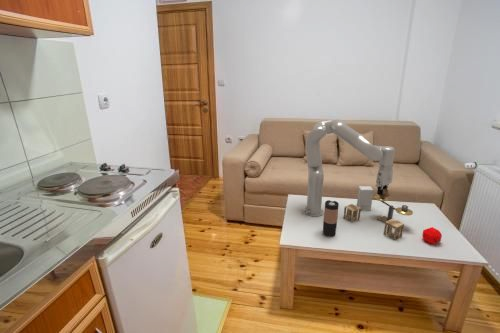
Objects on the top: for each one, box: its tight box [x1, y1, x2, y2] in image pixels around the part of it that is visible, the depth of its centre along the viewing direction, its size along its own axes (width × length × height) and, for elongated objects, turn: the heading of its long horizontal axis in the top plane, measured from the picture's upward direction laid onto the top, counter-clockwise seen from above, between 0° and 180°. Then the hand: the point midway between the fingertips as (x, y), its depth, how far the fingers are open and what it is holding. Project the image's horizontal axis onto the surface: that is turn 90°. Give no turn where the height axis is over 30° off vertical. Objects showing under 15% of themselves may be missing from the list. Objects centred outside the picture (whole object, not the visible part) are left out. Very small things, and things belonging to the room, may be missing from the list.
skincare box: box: [356, 185, 374, 211], centre depth 195 cm, size 8×7×16 cm
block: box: [379, 188, 390, 198], centre depth 178 cm, size 4×4×5 cm
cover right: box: [383, 218, 405, 241], centre depth 164 cm, size 7×7×8 cm
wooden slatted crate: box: [343, 203, 362, 223], centre depth 182 cm, size 7×7×8 cm
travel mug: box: [322, 200, 340, 238], centre depth 164 cm, size 8×8×20 cm
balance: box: [372, 194, 414, 229], centre depth 177 cm, size 9×25×15 cm, turn 33°
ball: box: [421, 226, 443, 245], centre depth 158 cm, size 8×8×8 cm
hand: (381, 193), depth 180 cm, fingers closed on block, 3 cm apart
